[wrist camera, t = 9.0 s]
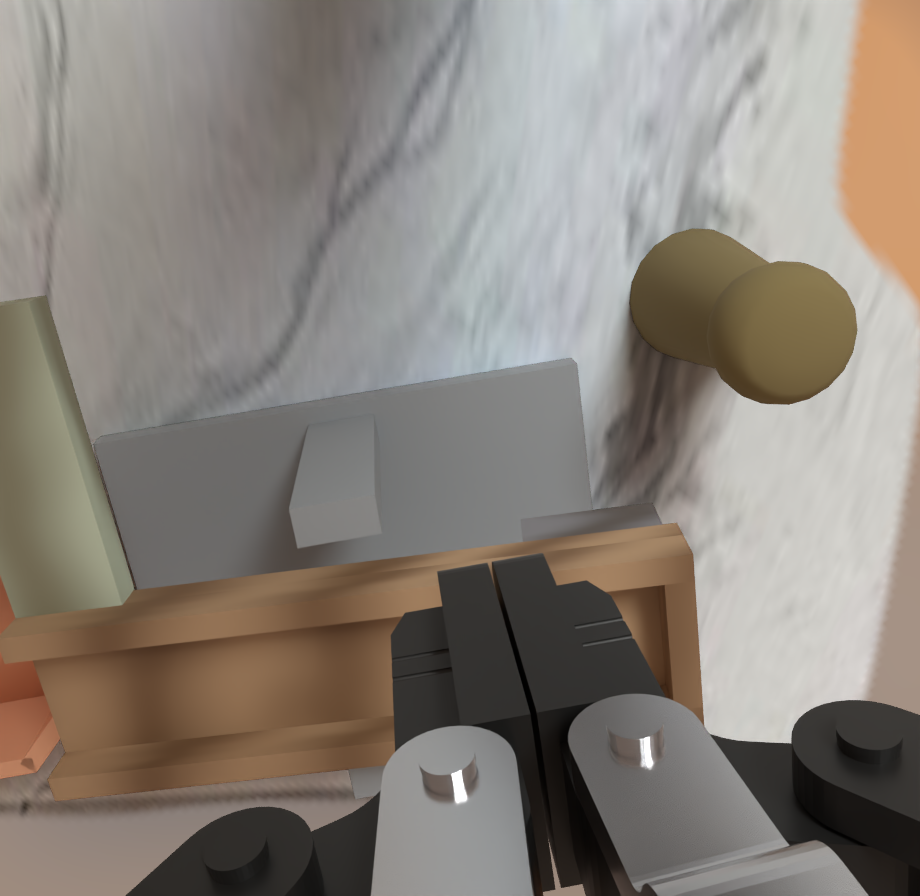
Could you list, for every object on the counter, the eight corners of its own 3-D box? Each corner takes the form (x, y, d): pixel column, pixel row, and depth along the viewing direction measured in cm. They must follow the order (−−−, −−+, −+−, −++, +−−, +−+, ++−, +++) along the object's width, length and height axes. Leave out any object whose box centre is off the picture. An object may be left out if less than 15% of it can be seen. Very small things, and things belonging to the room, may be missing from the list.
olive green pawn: (681, 384, 42) (781, 459, 32) (603, 291, 40) (683, 339, 30) (781, 298, 41) (918, 347, 31) (706, 199, 40) (825, 216, 29)
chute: (643, 201, 30) (671, 212, 25) (677, 659, 35) (704, 730, 31) (-38, 302, 31) (-120, 328, 27) (103, 725, 37) (55, 801, 33)
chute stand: (571, 357, 41) (640, 428, 31) (599, 617, 46) (667, 756, 35) (101, 436, 40) (5, 536, 30) (177, 693, 45) (118, 859, 34)
